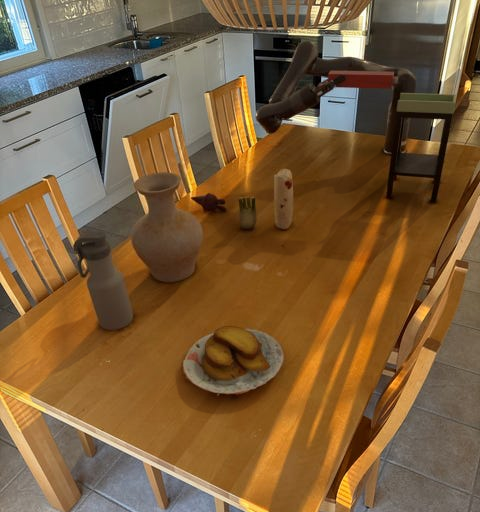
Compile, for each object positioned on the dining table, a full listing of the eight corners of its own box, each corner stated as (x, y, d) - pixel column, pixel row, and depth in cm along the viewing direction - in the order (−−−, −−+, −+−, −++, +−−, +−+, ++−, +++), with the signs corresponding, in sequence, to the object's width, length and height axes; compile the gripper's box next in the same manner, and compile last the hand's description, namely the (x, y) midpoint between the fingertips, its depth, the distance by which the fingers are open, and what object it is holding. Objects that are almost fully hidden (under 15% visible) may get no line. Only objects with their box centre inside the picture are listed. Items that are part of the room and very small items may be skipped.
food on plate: (173, 398, 121) (169, 379, 117) (195, 330, 140) (192, 312, 136) (280, 405, 117) (279, 385, 113) (288, 334, 136) (287, 315, 132)
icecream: (184, 197, 191) (220, 205, 186) (193, 184, 194) (229, 192, 190) (188, 210, 196) (222, 219, 192) (196, 198, 200) (231, 207, 195)
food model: (293, 231, 178) (293, 177, 165) (274, 232, 179) (273, 178, 166) (293, 218, 186) (293, 165, 173) (274, 218, 186) (273, 166, 174)
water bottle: (92, 330, 143) (64, 244, 125) (104, 309, 150) (79, 224, 133) (127, 332, 141) (103, 244, 124) (137, 310, 149) (116, 225, 131)
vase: (133, 260, 170) (113, 175, 151) (196, 245, 175) (184, 161, 156) (146, 296, 154) (125, 205, 135) (215, 279, 159) (204, 189, 140)
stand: (391, 177, 206) (402, 94, 186) (438, 181, 201) (454, 96, 181) (385, 198, 193) (396, 111, 172) (435, 203, 187) (453, 113, 167)
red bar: (330, 83, 185) (330, 70, 182) (397, 85, 178) (398, 71, 175) (327, 87, 181) (328, 73, 179) (395, 89, 174) (397, 75, 172)
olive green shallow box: (399, 103, 179) (400, 92, 177) (454, 105, 173) (456, 94, 171) (396, 111, 172) (397, 100, 170) (453, 113, 167) (455, 102, 165)
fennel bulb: (258, 226, 183) (256, 195, 175) (252, 232, 179) (250, 201, 172) (243, 223, 185) (241, 192, 177) (237, 230, 181) (235, 199, 174)
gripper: (294, 95, 182) (337, 70, 172) (304, 84, 192) (344, 59, 183) (304, 114, 185) (347, 90, 175) (313, 102, 195) (354, 79, 186)
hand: (345, 75), depth 179 cm, fingers closed on red bar, 4 cm apart
